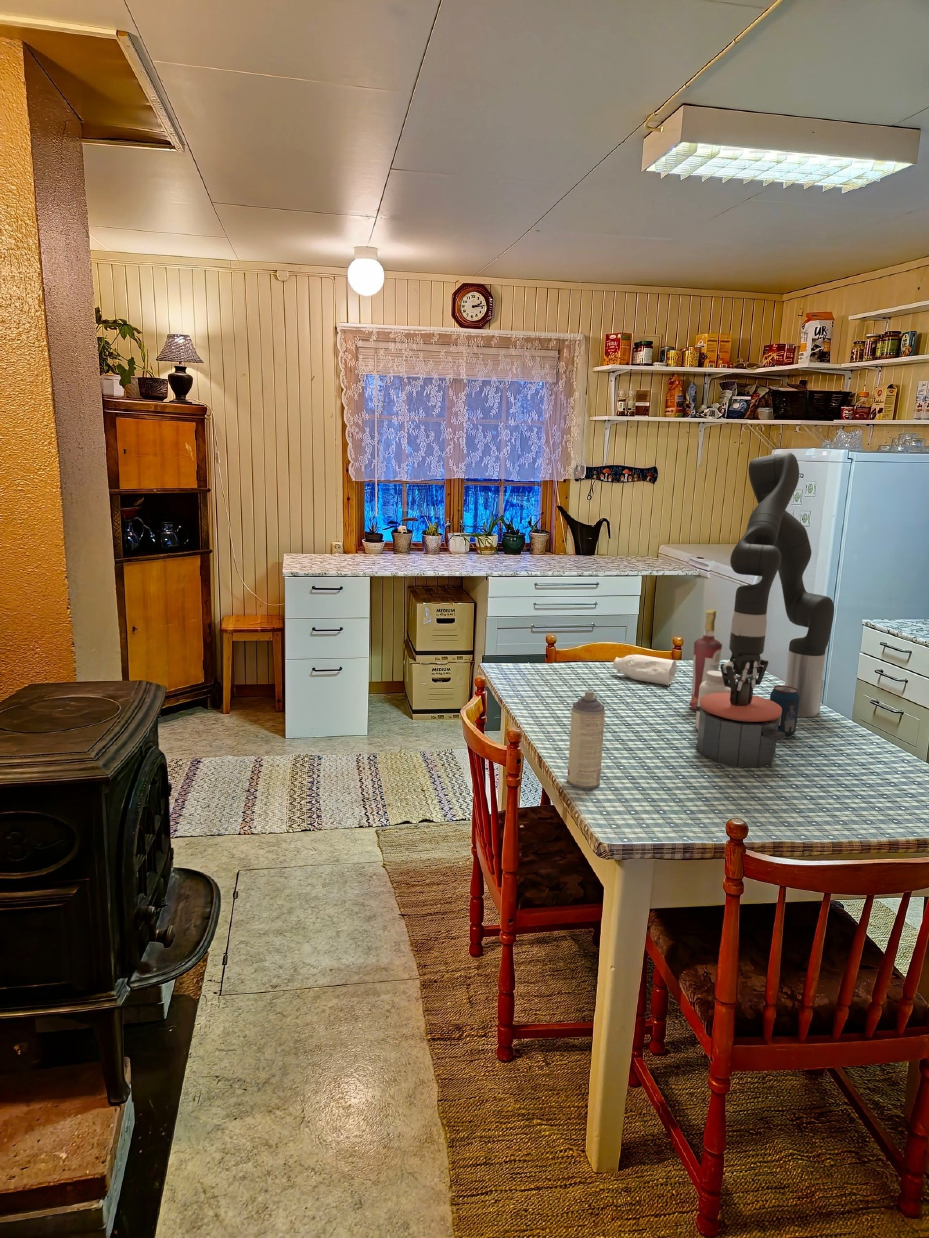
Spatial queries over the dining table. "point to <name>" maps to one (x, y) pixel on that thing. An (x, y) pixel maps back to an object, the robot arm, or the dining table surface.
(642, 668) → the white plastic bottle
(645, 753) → the dining table surface
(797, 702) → the soda can
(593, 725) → the aerosol can
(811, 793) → the dining table surface
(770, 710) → the lid
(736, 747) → the pot
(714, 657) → the liquor
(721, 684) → the pill bottle
